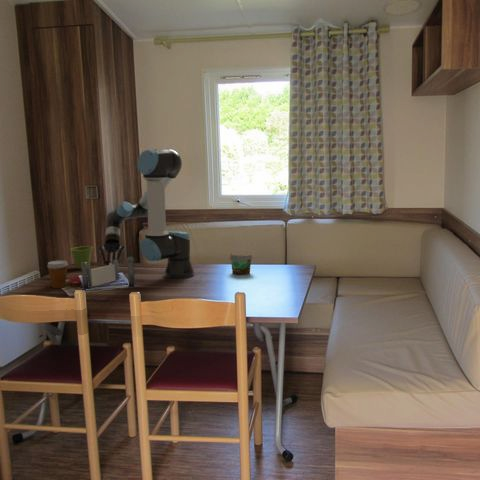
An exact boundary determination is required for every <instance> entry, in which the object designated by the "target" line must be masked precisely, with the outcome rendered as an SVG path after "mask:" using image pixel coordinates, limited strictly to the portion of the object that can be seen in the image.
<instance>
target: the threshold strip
mask: <svg viewBox="0 0 480 480" xmlns="http://www.w3.org/2000/svg"><path fill="white" fill-rule="evenodd" d="M93 287H94V288H92V287H90V290H91V289H95V290H112V289H128V285H120V286H119V285H118V286H117V285H116V286H97V287H96V286H93Z"/></svg>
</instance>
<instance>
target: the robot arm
mask: <svg viewBox="0 0 480 480" xmlns="http://www.w3.org/2000/svg"><path fill="white" fill-rule="evenodd" d="M182 163H183V162H182V158H181V156H180V155H179V153H178V152H177V151H176V150H174V149H170V148H165V149H162V148H161V149H160V148H159V149H157V148H156V149H155V148H154V149H153V148H152V149H146V150H143V151H142V152H141V153H140V154H139V157H138V158H137V169H138V171H139V173H140V174H142V175H143V176H142V177H143V178H142V179H144V180H145V181H146V190H145V192H144V194H143V195H142V196H141V197H140V199H139V200H138V202H137V203H130V202H127V201H122V202H121V203H120V204H119V205H117V206H116V208H115V209H114V210H111V211H108V212H107V214H106V219H105V221H106V223H105V225H106V226H105V237H104V239H105V240H104V244H103V246H100V247H99V248H98V249H99V251H100V253H101V257H102V261H103V264H104V266H108V265H112V264H113V260H118V265H119V264H120V261H121V258H122V255H123V253H124V251H125V250H126V249H125V246H123V245H121V243H120V241H121V228H122V224H124V222H125V221H127V220H130V219H138V218H147V231H146V232H145V234H144V235H145V236H144V237H145V238H143V239H142V240H141V243H140V251H141V253H142V255H143V256H144V258H145V259H146V260H147V261H149V262H159V261H162V260H167V263H166V267H165V268H164V269H165V270H164V277H165V278H168V279H176V280H177V279H187V278H191V277H194V276H195V271H194V267H193V265H192V262H191V244H190V242H191V241H190V240H191V239H190V234H189V233H188V232H187V231H186V232H185V231H176V230H169V231H168V230H167V225H166V216H167V215H166V193H165V192H166V188H167V187H168V186H169V184H170V183H171V181H172V180H173V179H176V178H177V176H178V175H179V173H180V171H181V169H182V165H183V164H182ZM105 251H106V252H107V255H105ZM117 253H118V254H117ZM111 255H112V257H111ZM106 256H107V258H106ZM116 256H117V257H116ZM111 258H112V260H111Z"/></svg>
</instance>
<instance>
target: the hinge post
mask: <svg viewBox="0 0 480 480" xmlns="http://www.w3.org/2000/svg"><path fill="white" fill-rule="evenodd" d="M81 264H82V269H81V276H82V287H81V289H82V290H81V291H87V290H86V289H89V290H91V287H89V284H88V269H87V262H81Z"/></svg>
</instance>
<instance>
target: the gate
mask: <svg viewBox="0 0 480 480" xmlns="http://www.w3.org/2000/svg"><path fill="white" fill-rule="evenodd" d="M87 274H88V287H90V288H92V287H96V286H98V285H103V284H107V283H110V282H115V281H119V280H120V278H119V264H118V260H116V259H115V260H113V264H112V265H108V266H107V265H104V266H100V267H95V268H91V267H88V268H87Z"/></svg>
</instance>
